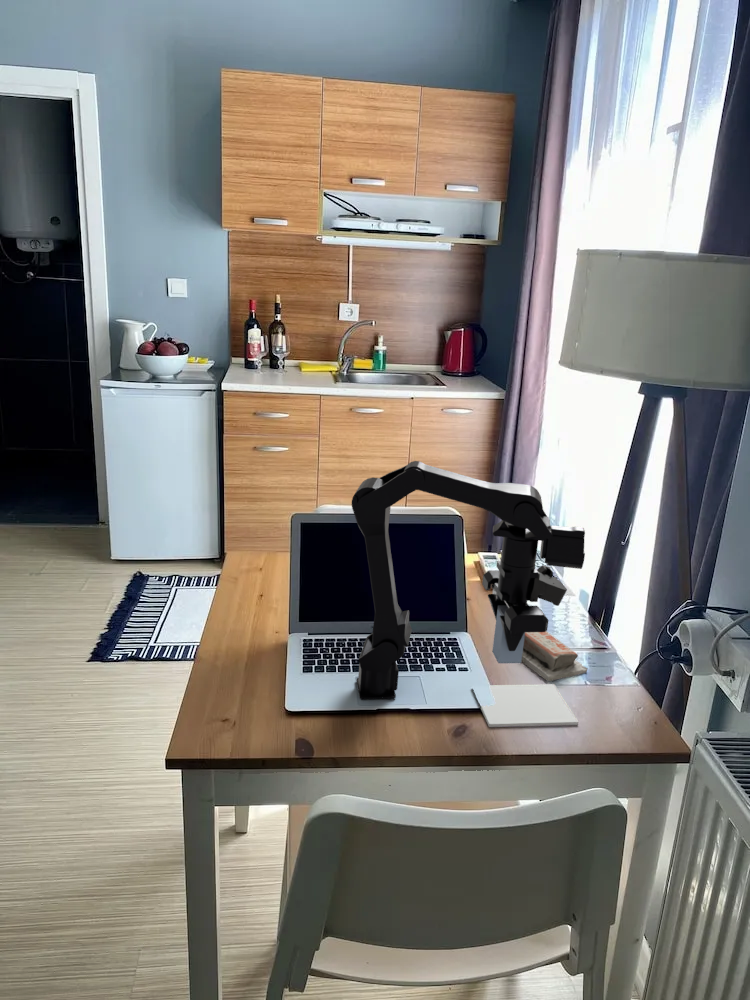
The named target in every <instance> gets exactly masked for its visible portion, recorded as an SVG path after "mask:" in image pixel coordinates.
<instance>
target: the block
mask: <svg viewBox="0 0 750 1000" xmlns="http://www.w3.org/2000/svg"><path fill="white" fill-rule="evenodd" d="M507 609H508V606H507V605H498V609H497V617H496V619H495V627H494V635H493V643H492V650H491V651H492V654H493V655H494V658H495V659H496V661H497V663H498V664H522V661H521V660H522V652H523V645H524V638H525V633H524V634H523V636H522V638H521V640H520V642H519V644H518V646H517V648H516V650H515V651H509V650H508V646H507V643H506V639H505V635H504V631H503V627H502V623H501V619H500V616H505V611H506V610H507Z"/></svg>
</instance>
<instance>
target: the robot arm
mask: <svg viewBox="0 0 750 1000" xmlns="http://www.w3.org/2000/svg"><path fill="white" fill-rule="evenodd" d="M415 491H421V492H423V493H428V494H431V495H433V496H434V495H435V496H437V497H442V498H446V499H448V500H452V501H455V502H458V503H462V504H466V505H469V506H472V507H475V508H476V507H477V508H479V509H483V510H485V511H487V512H489V513H491V514H493V516H495V517H496V518H498V519H500V521H499V522H498V523H496V524H494V525H493V526H492V535H493V536H494V537H501V538H502V546H501V547H502V548H501V555H500V560H497V561H496V568H497V569H496V570H493V569H492V570H491V569H490V570H487V571H486V572H485V573H484V574H483V575H482V586H483V587H484V589H485V591H490V589H492V593H488V594H487V598H488V601H489V604H490V607H491V610H492V612H493V616H494V618H495V620H496V617H497V609H498V605H507V606H508V609H507V610H506V611H505V616H500V619H501V623H502V627H503V631H504V635H505V639H506V643H507V646H508V650H509V651H515V650H516V648H517V646H518V644H519V642H520V640H521V638H522V636H523V634H524V633H525V632H546V631H547V632H548V629H549V619H548V617H547V616H546V614H545V613H544V612H543V610H542V609H541V608H540V607H539V606H538V605H529V604H528V602H530V603H538V600H539V599H540V600H542V601H546V602H548V603H551V604H552V605H554V606H560V604H561V603H562V600H563V598H564V596H565V594H566V593H567V590H568V588H567V587H566V586H565V585H564V583H563V582H562V581H561V580H560V579H558V578H557V577H556V576H554V572H553V570H552V569H551V567H557V568H558V567H561V568H569V569H580V570H581V569H583V566H584V563H585V557H586V556H585V555H586V553H585V535H586V532H585V531H586V530H585V528H584V527H583V526H563V525H561V526H560V525H552V524H551V520H550V517H549V516H547V513H546V512H545V510H544V507H543V502H542V501H543V500H542V496H541V494H540V492H539V490H538V489H537V488H535V487H534V486H532V485H530V484H523V483H516V482H515V483H514V482H513V483H512V482H499V483H498V482H497V483H496V482H489V481H485V480H481V479H478V478H474V477H471V476H467V475H463V474H460V473H457V472H453V471H450V470H447V469H442V468H439V467H435V466H432V465H428V464H425V463H423V462H422V461H420V460H413V461H411V462H408V463H407V464H406V465H404V466H402V467H401V468H400V467H399V468H398V469H395V470H392V471H390V472H388V473H386V474H384V475H382V476H380V477H368V478H366V479H364V480H363V481H362V482H361V483H360V484H359V486H358V488H357V489H356V492H355V493H354V494H353V496H352V499H351V509H352V512H353V515H354V517H355V521H356V524H357V526H358V528H359V530H360V531H361V532H360V533H362V535H363V538H364V542H365V543H364V544H365V550H366V558H367V564H368V571H369V579H370V580H369V581H370V585H371V586H370V587H371V593H372V600H373V607H374V617H373V626H372V633H369V635H367V636H366V638H365V641H364V644H363V647H362V650H361V652H360V655H359V658H358V677H357V678H356V680H355V681H356V686H357V691H358V696H359V699H360V700H392V699H391V698H395V699H396V697H397V695H396V694H397V693H396V691H397V690H398V685H399V684H398V683H399V671H400V670H399V668H398V665H397V661H398V660H400V659H402V657H403V656H404V653H405V650H406V648H408V646H409V644H410V643H409V642H410V640H411V639H410V638H411V634H412V631H413V628H412V625H411V623H410V610H404V611H403V610H402V609H401V607H400V606H399V604H398V595H397V590H396V589H397V588H396V582H395V581H396V580H395V575H394V574H395V573H394V566H393V565H394V564H393V558H392V552H391V551H392V550H391V541H390V535H389V534H390V533H389V524H390V517H391V506H393V505H395V504H396V503H398V502H399V501H401V500H402V499H403V498H405V497H407V496H408V495H410V494H411V493H413V492H415ZM539 541H541V542H540V543H541V544H540V554H539V556H540V557H539V558H540V559H544V563H545V564H546V565H544V564H542V565H541V566H540V567H539V568H537V569H536V561H537V553H538V545H539Z"/></svg>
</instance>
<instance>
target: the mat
mask: <svg viewBox="0 0 750 1000" xmlns="http://www.w3.org/2000/svg"><path fill="white" fill-rule="evenodd" d="M489 685H490V688H491V690H492V693H493V696H494V698H495V702H496V704H495V705H494V706H489V707H488V706H487V705H486V706H485V707H484V706H481V708H480V711H481V712H482V715H483V717H484V718H485V719H484V720H485V722H486V723H487V726H488V727H489V728H504V727H505V728H507V727H508V728H509V727H513V728H514V727H539V726H540V727H542V726H544V727H545V726H547V727H548V726H549V727H552V726H554V727H555V726H579V720H578V719H577V716H575V714H574V712H573V711H572V710H571V708H570V706H569V705H568V704H567V702H566V700H565V699H564V697H563V696H562V694H561V693H560V690H559V689H558V687H557V686H556V684H554V683H552V684H551V683H550V684H549V683H546V684H545V683H544V684H537V683H536V684H496V685H492V684H489Z"/></svg>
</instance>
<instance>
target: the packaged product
mask: <svg viewBox="0 0 750 1000" xmlns="http://www.w3.org/2000/svg"><path fill="white" fill-rule="evenodd" d="M577 658H578V654H577V653H576V652H575V651H574V650H573V649H571V648H570V647H568V645H566V644H564V642H562V641H560V639H558V638H556V637H555V636H554V635H552V634H551V633H549V632H548V630H547V631H546V632H525V638H524V645H523V652H522V660H521V663H523V664H524V665H526V666H527V667H528V668H529V669H530V670H532V671H533V672H535V673H536V674H537V675H538V676H540V677H541V678H543V679H544V680H546V681H547V682H551V681H556V680H560V679H565V678H569V677H573V676H577V675H584V674H586V673H587V671H588V669H589V668H588V667H586V666H584V665H583V664H582V663H580V662H579V661H577V660H576V659H577Z"/></svg>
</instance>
